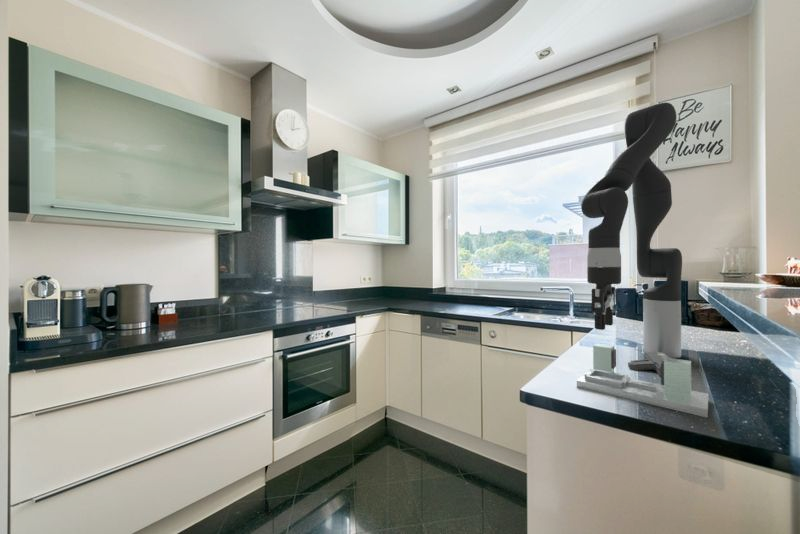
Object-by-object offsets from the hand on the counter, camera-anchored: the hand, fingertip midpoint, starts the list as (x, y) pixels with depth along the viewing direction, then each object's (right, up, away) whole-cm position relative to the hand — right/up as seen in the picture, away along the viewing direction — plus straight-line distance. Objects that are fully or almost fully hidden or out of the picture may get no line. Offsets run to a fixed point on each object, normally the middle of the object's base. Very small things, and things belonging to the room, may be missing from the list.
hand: (603, 327), depth 84 cm
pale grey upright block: (0, -12, 0) cm, 12 cm away
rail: (-1, -12, -14) cm, 18 cm away
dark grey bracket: (+15, -12, +3) cm, 19 cm away
